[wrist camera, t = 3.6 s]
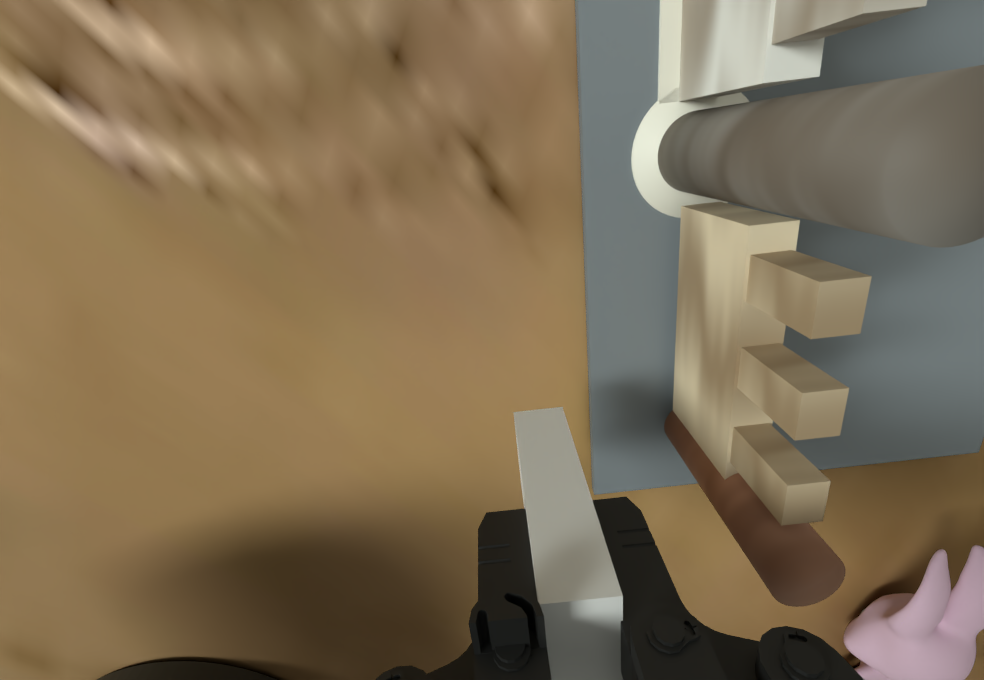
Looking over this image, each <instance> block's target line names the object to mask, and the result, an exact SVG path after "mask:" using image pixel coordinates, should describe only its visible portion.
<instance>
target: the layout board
mask: <svg viewBox="0 0 984 680" xmlns="http://www.w3.org/2000/svg"><path fill="white" fill-rule="evenodd" d="M575 12H576V40H577V69H578V97H579V126H580V154H581V182H582V211H583V239H584V268H585V296H586V324H587V353H588V381H589V410H590V438H591V467H592V489H593V492H594V495H596V494H605V493H614V492H623V491H632V490H641V489H650V488H659V487H668V486H678V485H687V484H696V483H698V482H697V481H696V479H695V478H694V476H693V475H692V473H691V472H690V470H689V469H688V467H687V466H686V464H685V463H684V461H683V460H682V458H681V457H680V455H679V454H678V452H677V450H676V449H675V447H674V446H673V444H672V443H671V441H670V440H669V438H668V437H667V435H666V433H665V430H664V424H665V420H666V418H667V416H668V415H669V413H670V412H671V411H672V410H673V391H674V367H675V343H676V319H677V295H678V271H679V247H680V223H681V206H686V205H695V204H703V203H712V202H723V203H728V204H732V205H736V206H741V207H745V208H749V209H754V210H758V211H762V212H767V213H771V214H776V215H780V216H784V217H789V218H793V219H797V220H800V224H799V231H798V239H797V246H796V251H797V252H800V253H803V254H806V255H809V256H812V257H815V258H818V259H821V260H824V261H827V262H830V263H833V264H836V265H839V266H842V267H845V268H848V269H851V270H854V271H857V272H860V273H863V274H867V275H870V276H872V278H871V283H870V288H869V293H868V298H867V303H866V308H865V313H864V318H863V323H862V328H861V333H860V334H853V335H844V336H836V337H827V338H818V339H810V338H808V337H806V336H804V335H803V334H801V333H799V332H797V331H796V330H794V329H792V328H790V327H789V326H787V325H786V327H785V335H784V342H783V345H784V346H785V347H787V348H788V349H790V350H791V351H793V352H794V353H796V354H797V355H799V356H801V357H802V358H804V359H805V360H807V361H808V362H810V363H811V364H813V365H814V366H816V367H818V368H819V369H821V370H822V371H824V372H825V373H827V374H828V375H830V376H831V377H833V378H835V379H836V380H838V381H839V382H841V383H842V384H844V385H845V386H847V387H849V392H848V397H847V402H846V407H845V412H844V417H843V422H842V427H841V432H840V436H832V437H823V438H814V439H805V440H796V441H795V440H794V439H792V438H791V437H790V436H789V435H788V434H787V433H786V432H785V431H784V430H783V429H782V428H781V427H779V426H778V425H777V424H776V423H775V422H774V421H773V423H772V426H773V427H774V428H775V429H776V430H777V431H778V432H779V433H780V434H781V435H782V436H783V437H784V438H786V439H787V440H788V441H789V442H790V443H791V444H792V445H793V446H794V447H795V448H796V449H797V450H798V451H799V452H800V453H801V454H803V455H804V456H805V457H806V458H807V459H808V460H809V461H810V462H811V463H812V464H813V465H814V466H815V467H816V468H817V469H818V470H823V469H832V468H841V467H850V466H859V465H868V464H877V463H886V462H895V461H904V460H914V459H923V458H932V457H941V456H950V455H959V454H968V453H977V452H979V450H980V447H981V444H982V441H983V438H984V237H983V238H981V239H978V240H976V241H973V242H970V243H967V244H964V245H960V246H954V247H944V248H937V247H928V246H924V245H919V244H915V243H910V242H906V241H901V240H897V239H892V238H888V237H883V236H879V235H874V234H870V233H865V232H861V231H856V230H852V229H847V228H843V227H838V226H834V225H829V224H825V223H820V222H816V221H811V220H807V219H802V218H798V217H793V216H789V215H784V214H780V213H775V212H771V211H766V210H762V209H757V208H753V207H748V206H744V205H739V204H735V203H730V202H726V201H721V200H717V199H712V198H708V197H703V196H699V195H694V194H690V193H685V192H681V191H678V190H676V189H674V188H672V187H671V186H670V185H668V184H667V182H666V181H665V180H664V179H663V177H662V175H661V173H660V170H659V166H658V150H659V145H660V142H661V140H662V137H663V135H664V134H665V132H666V130H667V129H668V128H669V126H670V125H671V124H672V123H673V122H674V121H675V120H677V119H678V118H679V117H681V116H682V115H684V114H686V113H689V112H692V111H696V110H702V109H708V108H715V107H721V106H727V105H734V104H740V103H746V102H752V101H759V100H765V99H771V98H778V97H784V96H790V95H797V94H803V93H809V92H815V91H822V90H828V89H834V88H841V87H847V86H853V85H860V84H866V83H872V82H878V81H885V80H891V79H897V78H904V77H910V76H916V75H922V74H929V73H935V72H941V71H948V70H954V69H960V68H967V67H973V66H979V65H984V0H927V4H926V6H924V7H921V8H918V9H915V10H911V11H908V12H905V13H902V14H899V15H895V16H892V17H889V18H886V19H882V20H879V21H876V22H873V23H869V24H866V25H863V26H860V27H856V28H853V29H850V30H847V31H844V32H840V33H837V34H834V35H831V36H827V37H825V39H824V47H823V54H822V61H821V69H820V76H819V77H815V78H810V79H805V80H800V81H795V82H790V83H785V84H780V85H775V86H770V87H765V88H760V89H755V90H750V91H745V92H740V93H735V94H730V95H725V96H720V97H712V98H704V99H695V100H687V101H679V81H680V54H681V27H682V0H575Z"/></svg>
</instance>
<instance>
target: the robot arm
mask: <svg viewBox="0 0 984 680" xmlns="http://www.w3.org/2000/svg"><path fill="white" fill-rule="evenodd" d="M514 421H515V430H516V440H517V449H518V459H519V468H520V478H521V487H522V495H523V503H524V509H517V510H507V511H498V512H488V513H486V515H485V517H484V519H483V520H482V522H481V524H480V526H479V528H478V602H477V603H476V605H475V606H474V607H473V609H472V611H471V616H470V620H469V628H470V633H471V638H472V643H471V645H470V646H469V648H468V649H467V651H465V652H464V653H463V654H462V655H461V656H460V657H459V658H458V659H456V660H455V661H453V662H451V663H450V664H448V665H446V666H444V667H441V668H439V669H437V670H435V671H433V672H431V673H428V674H426V673H425V672H424V671H423V670H420V669H418V668H415V667H413V666H399V667H395V668H393V669H391V670H388V671H386V672H384V673H382V674H381V675H380V676H379V677H378V678H377V679H376V680H864V679H863V678H862V677H861V676H860V675H859V674H858V673H857V672H856V671H855V670H854V669H853V668H852V666H851V665H850V664H849V663H848V662H847V661H846V660H845V659H844V658H843V657H842V656H841V655H840V654H839V653H838V652H837V651H836V650H835V649H833V648H832V647H831V646H830V645H828V644H827V643H826V642H825V641H823V640H822V639H821V638H819V637H817V636H815V635H813V634H811V633H809V632H807V631H805V630H803V629H798V628H793V627H788V626H784V627H777V628H772V629H770V630H769V631H767V632H766V633H765V634H763V635H762V637H761V640H760V642H759V641H754V640H750V639H745V638H740V637H735V636H731V635H727V634H723V633H720V632H717V631H714V630H712V629H711V628H709V627H707V626H705V625H703V624H702V623H701V622H699V621H698V620H697V619H696V618H695V617H694V616H692V615H691V614H690V613H689V612H688V611H687V609H686V608H685V606H684V605H683V603H682V601H681V600H680V598H679V595H678V593H677V591H676V589H675V586H674V584H673V582H672V580H671V577H670V575H669V573H668V570H667V568H666V566H665V564H664V561H663V559H662V557H661V555H660V552H659V550H658V548H657V546H656V545H655V541H654V539H653V537H652V534H651V532H650V531H649V528H648V525H647V523H646V521H645V519H644V516H643V514H642V512H641V510H640V509H639V508H638V507H637V506H635V505H634V504H633V503H632V502H631V501H630V500H629V499H628V498H627V497H619V498H610V499H600V500H592V498H591V495H590V492H589V489H588V485H587V482H586V479H585V476H584V473H583V470H582V467H581V464H580V460H579V457H578V454H577V451H576V448H575V445H574V442H573V439H572V435H571V432H570V429H569V426H568V423H567V420H566V417H565V414H564V410H563V407H558V408H548V409H539V410H530V411H521V412H514ZM97 680H276V679H274V678H271V677H268V676H266V675H263V674H260V673H256V672H253V671H250V670H246V669H242V668H238V667H233V666H228V665H222V664H216V663H207V662H194V661H170V662H157V663H149V664H143V665H138V666H133V667H129V668H125V669H122V670H119V671H116V672H113V673H110V674H108V675H105V676H103V677H101V678H99V679H97Z"/></svg>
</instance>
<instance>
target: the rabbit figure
mask: <svg viewBox="0 0 984 680" xmlns="http://www.w3.org/2000/svg"><path fill="white" fill-rule="evenodd" d="M983 629H984V548H983V547H981V546H979V545H974V546H973V547H972V548H971V551H970V554H969V557H968V560H967V562H966V564H965V566H964V568H963V570H962V572H961V574H960V576H959V579H958V581H957V583H956V585H955V586H954V588H953V589H952V590H951V582H950V575H949V569H948V561H947V553H946V551H945V550H943V549H939V550H937V551H936V552H935V553H934V555H933V556H932V558H931V560H930V562H929V564H928V567H927V569H926V572H925V575H924V577H923V580H922V582H921V584H920V586H919V588H918V590H917V591H916V593H915V594H911V593H899V594H890V595H885V596H882V597H880V598H878V599H876V600H875V601H873V602H872V603H871V604H870V605H869V606H868V607H867V608H866V609H864V610H862V612H861V614H860V615H859V616H858V617H857V618H855V619H853V620H852V621H851V622H850V623H849V625H848V626H847V628H846V630H845V633H844V644H845V646H846V647H847V649H848V650H849V651H850V652H851V653H852V654H853V655H854V656H856V657H857V658H858V659H860V666H858V667H857V668H855V669H854V670H855V671H856V672H857V673H858V674H859V675H860V676H861V677H862V678H863V679H864V680H965V678H966V677H967V676H968V675H969V673H970V672H971V670H972V668H973V665H974V662H975V657H976V636H977V634H978V633H979V632H980V631H981V630H983Z"/></svg>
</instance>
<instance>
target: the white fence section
mask: <svg viewBox="0 0 984 680" xmlns="http://www.w3.org/2000/svg"><path fill="white" fill-rule="evenodd" d="M926 4H927V0H682V27H681V54H680V81H679V101H687V100H695V99H704V98H712V97H720V96H725V95H730V94H735V93H740V92H745V91H750V90H755V89H760V88H765V87H770V86H775V85H780V84H785V83H790V82H795V81H800V80H805V79H810V78H815V77H819V76H820V69H821V61H822V54H823V47H824V39H825V37H827V36H831V35H834V34H837V33H840V32H844V31H847V30H850V29H853V28H856V27H860V26H863V25H866V24H869V23H873V22H876V21H879V20H882V19H886V18H889V17H892V16H895V15H899V14H902V13H905V12H908V11H911V10H915V9H918V8H921V7H924V6H926ZM658 166H659V170H660V173H661V175H662V177H663V179H664V180H665V181H666V182H667V184H668V185H670V186H671V187H672V188H674V189H676V190H678V191H681V192H685V193H690V194H694V195H699V196H703V197H708V198H712V199H717V200H721V201H726V202H730V203H735V204H739V205H744V206H748V207H753V208H757V209H762V210H766V211H771V212H775V213H780V214H784V215H789V216H793V217H798V218H802V219H807V220H811V221H816V222H820V223H825V224H829V225H834V226H838V227H843V228H847V229H852V230H856V231H861V232H865V233H870V234H874V235H879V236H883V237H888V238H892V239H897V240H901V241H906V242H910V243H915V244H919V245H924V246H928V247H937V248H944V247H954V246H960V245H964V244H967V243H970V242H973V241H976V240H978V239H981V238H983V237H984V65H979V66H973V67H967V68H960V69H954V70H948V71H941V72H935V73H929V74H922V75H916V76H910V77H904V78H897V79H891V80H885V81H878V82H872V83H866V84H860V85H853V86H847V87H841V88H834V89H828V90H822V91H815V92H809V93H803V94H797V95H790V96H784V97H778V98H771V99H765V100H759V101H752V102H746V103H740V104H734V105H727V106H721V107H715V108H708V109H702V110H696V111H692V112H689V113H686V114H684V115H682V116H681V117H679V118H678V119H677V120H675V121H674V122H673V123H672V124H671V125H670V126H669V128H668V129H667V130H666V132H665V134H664V135H663V137H662V140H661V142H660V145H659V150H658Z"/></svg>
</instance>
